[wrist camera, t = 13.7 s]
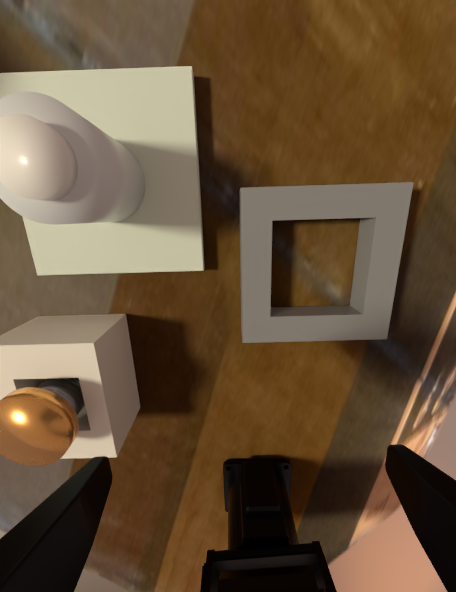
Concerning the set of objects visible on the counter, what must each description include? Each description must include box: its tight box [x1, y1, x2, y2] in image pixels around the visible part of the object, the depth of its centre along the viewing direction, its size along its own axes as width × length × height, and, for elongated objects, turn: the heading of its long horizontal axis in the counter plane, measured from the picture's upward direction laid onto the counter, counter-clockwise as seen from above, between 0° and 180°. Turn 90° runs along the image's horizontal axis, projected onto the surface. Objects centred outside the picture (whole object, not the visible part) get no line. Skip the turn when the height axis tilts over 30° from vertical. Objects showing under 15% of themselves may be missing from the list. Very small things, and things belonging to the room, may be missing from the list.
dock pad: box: [0, 66, 205, 275], centre depth 17 cm, size 12×12×1 cm
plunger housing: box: [0, 314, 140, 459], centre depth 19 cm, size 9×7×5 cm
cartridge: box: [0, 91, 145, 225], centre depth 13 cm, size 5×5×7 cm
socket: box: [239, 182, 414, 343], centre depth 18 cm, size 11×11×2 cm
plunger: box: [0, 378, 85, 466], centre depth 17 cm, size 5×5×6 cm
